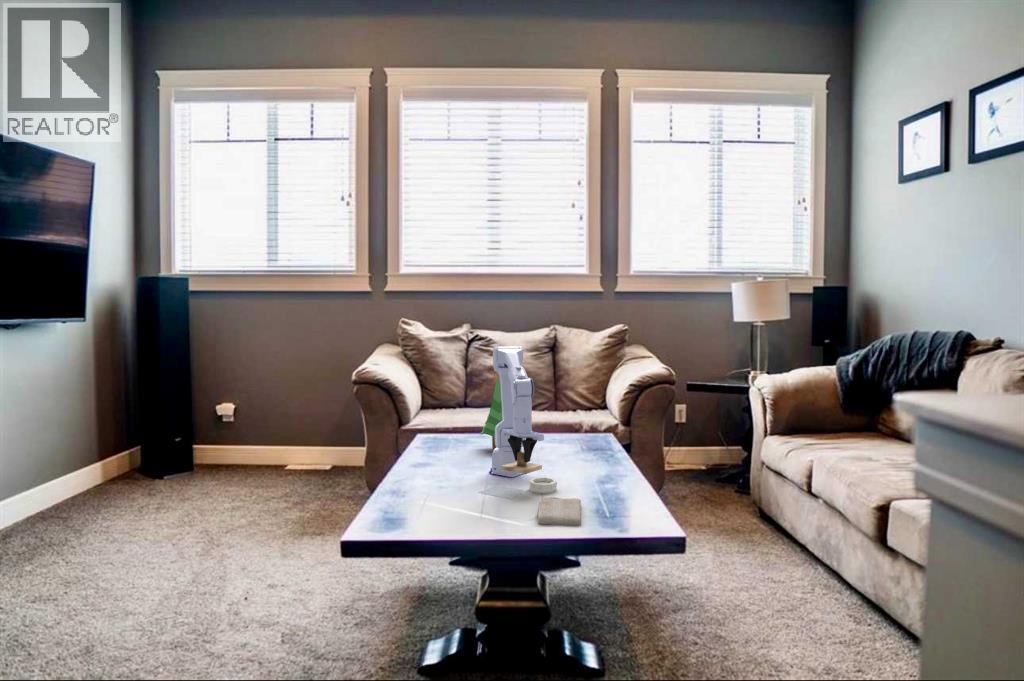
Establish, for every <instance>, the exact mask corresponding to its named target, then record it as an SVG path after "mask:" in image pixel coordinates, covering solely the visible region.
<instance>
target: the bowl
mask: <svg viewBox="0 0 1024 681" xmlns="http://www.w3.org/2000/svg"><path fill="white" fill-rule="evenodd" d="M528 484H529V491H531V492H532V493H537V494H550V493H554V492H556V491H557V488H558V487H557V486H558V480H557V479H556V478H553V477H549V476H548V477H547V476H540V477H539V476H536V477H532V478H531V479H529V481H528Z"/></svg>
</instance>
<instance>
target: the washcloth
mask: <svg viewBox="0 0 1024 681" xmlns="http://www.w3.org/2000/svg"><path fill="white" fill-rule="evenodd" d="M581 504H582V502H581V499H580V498H577V497H575V498H574V497H573V498H561V497H555V496H554V497H553V496H552V497H551V496H550V497H542V498H541V499H540V501H539V504H538V513H537V514H538V515H537V516H538V518H537V519H538V520H537V524H541V525H562V526H581V525H582V520H581V519H582V517H581V514H582V512H581V509H582V505H581Z"/></svg>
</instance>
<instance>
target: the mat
mask: <svg viewBox="0 0 1024 681" xmlns="http://www.w3.org/2000/svg"><path fill="white" fill-rule="evenodd" d="M528 491H529V490H527V489H522V488H517V487H511V486H505V485H502V484H501V485H500V484H494V485H492V486H490V487H488V488H485V489H483V490H481V491H478V494H482V495H488V496H492V497H499V498H503V499H508V500H512V499H514V498H517V497H519V496H521V495H522V494H525V493H527V492H528Z"/></svg>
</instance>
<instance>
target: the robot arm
mask: <svg viewBox="0 0 1024 681" xmlns="http://www.w3.org/2000/svg"><path fill="white" fill-rule="evenodd" d="M523 360H524V349H523V347H522V346H521V345H518V346H517V345H516V346H498V345H497V346H494V347H493V349H492V364H493V370H494V372H496V373H497V374H498V377H499V381H500V385H501V402H502V419H503V420H502V421H501V422H500V423H498V424H497V425H496V427H495V445H496V447H497V448H495V449H494V450H492V455H491V474H494V475H499V476H503V477H509V478H515V477H517V476H520V475H523V474H522V473H517V472H512V471H507V470H502V469H501V467H502V465H506V464H509V463H513V462H517V452H522V449H523V452H524V461H525V462H526V463H530V461H531V458H532V454H533V452H534V448H535V446H536V444H537V442H543V441H544V440H545V434H544V433H540V432H536V431H533V430H532V427H533V426H532V423H533V422H532V414H533V413H532V412H533V411H532V409H533V408H532V404H533V403H532V399H533V397H534V394H535V386H534V380H533V378H531V377H528V374H527V371H526V369H525V367H523V366H522V363H523ZM501 429H502V430H501Z"/></svg>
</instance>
